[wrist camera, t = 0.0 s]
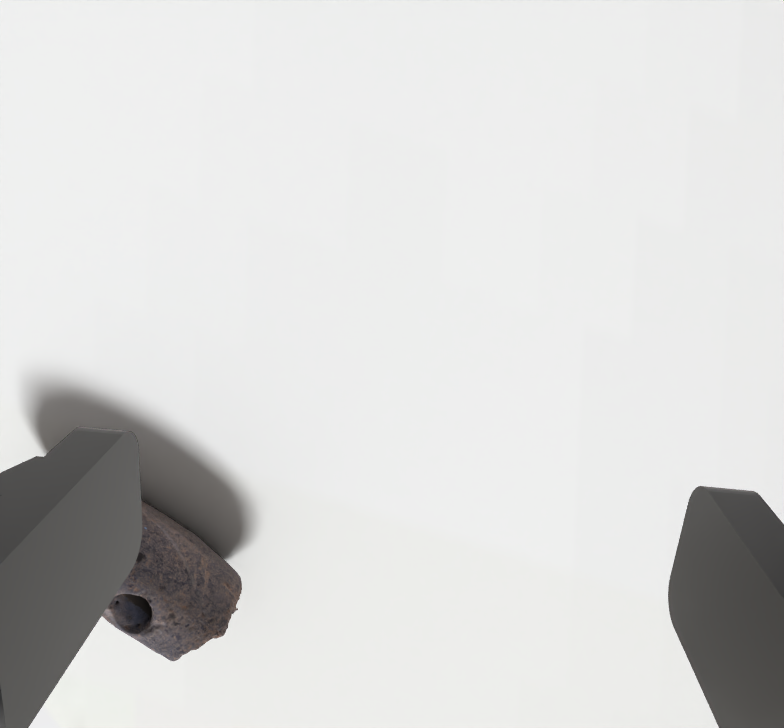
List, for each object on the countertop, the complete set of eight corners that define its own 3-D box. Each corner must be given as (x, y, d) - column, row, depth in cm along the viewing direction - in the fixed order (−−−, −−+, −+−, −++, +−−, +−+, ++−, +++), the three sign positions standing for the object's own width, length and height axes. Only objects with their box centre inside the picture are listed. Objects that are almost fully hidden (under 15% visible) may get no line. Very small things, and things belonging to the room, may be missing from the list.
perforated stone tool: (17, 472, 45) (-54, 535, 38) (62, 414, 43) (-5, 470, 37) (212, 611, 48) (176, 692, 41) (260, 562, 46) (231, 637, 40)
